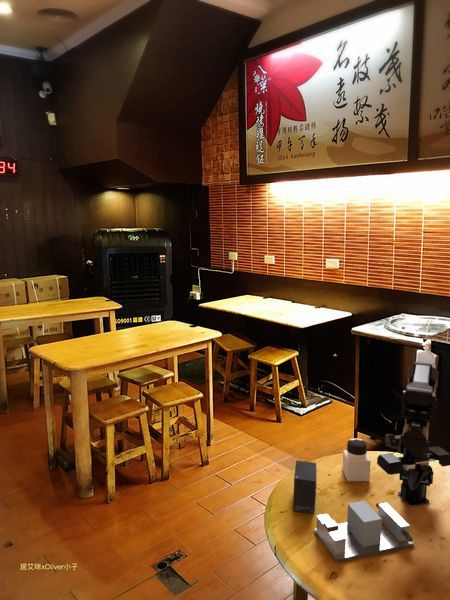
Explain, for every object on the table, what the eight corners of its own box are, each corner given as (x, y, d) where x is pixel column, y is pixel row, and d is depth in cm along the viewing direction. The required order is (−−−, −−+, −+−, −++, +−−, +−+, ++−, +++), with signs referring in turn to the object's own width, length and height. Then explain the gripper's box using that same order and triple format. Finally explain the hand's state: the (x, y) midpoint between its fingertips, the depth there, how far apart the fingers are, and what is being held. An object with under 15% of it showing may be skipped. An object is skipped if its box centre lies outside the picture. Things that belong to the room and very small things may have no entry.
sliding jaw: (381, 512, 134) (381, 497, 133) (414, 546, 120) (415, 531, 119) (373, 513, 133) (373, 499, 132) (405, 548, 119) (406, 533, 118)
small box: (315, 514, 135) (316, 480, 133) (292, 511, 136) (293, 478, 134) (316, 493, 145) (317, 461, 143) (294, 491, 146) (295, 459, 144)
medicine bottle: (369, 481, 151) (371, 446, 149) (347, 481, 151) (348, 446, 149) (363, 469, 158) (365, 436, 156) (342, 469, 158) (343, 436, 156)
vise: (386, 518, 133) (388, 497, 132) (414, 546, 122) (415, 524, 120) (314, 531, 127) (315, 510, 126) (335, 563, 116) (336, 540, 115)
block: (363, 524, 129) (364, 500, 128) (380, 543, 121) (381, 518, 120) (346, 527, 128) (347, 503, 126) (362, 547, 120) (364, 522, 119)
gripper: (427, 417, 133) (423, 468, 136) (367, 425, 129) (364, 478, 132) (455, 435, 122) (450, 490, 125) (390, 444, 118) (387, 501, 121)
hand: (412, 489), depth 126 cm, fingers closed
